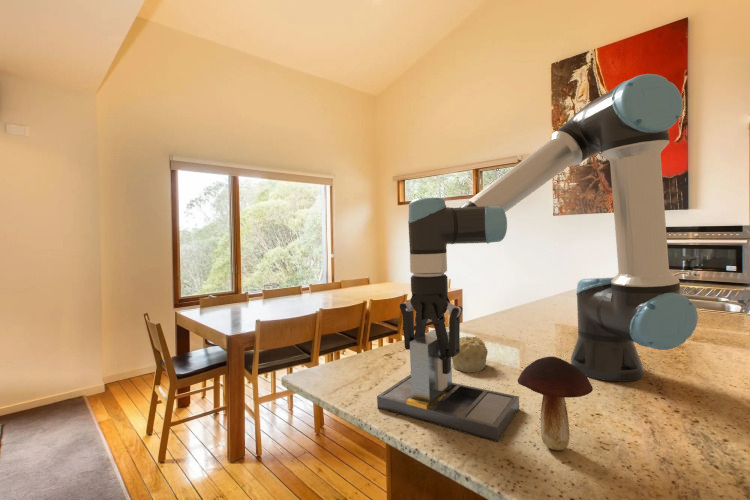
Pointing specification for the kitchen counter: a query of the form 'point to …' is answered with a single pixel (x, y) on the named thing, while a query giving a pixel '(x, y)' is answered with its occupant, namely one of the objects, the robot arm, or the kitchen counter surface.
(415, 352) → the panel
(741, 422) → the kitchen counter surface
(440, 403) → the rack
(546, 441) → the decorative mushroom
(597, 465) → the kitchen counter surface
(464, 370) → the decorative item
